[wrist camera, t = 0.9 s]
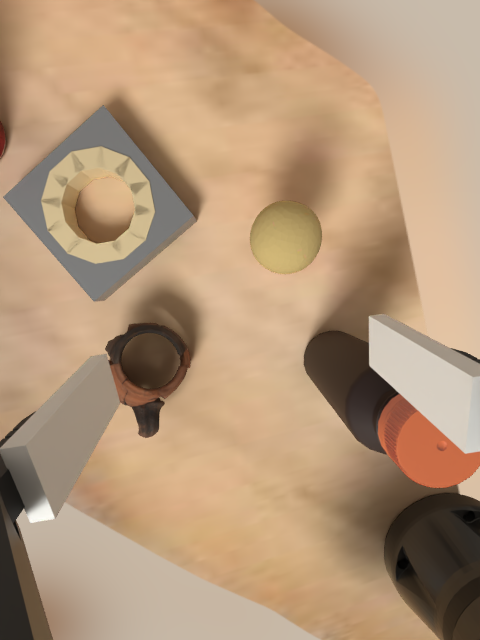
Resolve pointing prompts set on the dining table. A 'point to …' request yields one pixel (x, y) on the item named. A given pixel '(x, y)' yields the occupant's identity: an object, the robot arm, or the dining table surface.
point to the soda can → (2, 139)
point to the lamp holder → (62, 193)
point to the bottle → (383, 413)
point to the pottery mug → (137, 397)
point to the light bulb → (285, 237)
